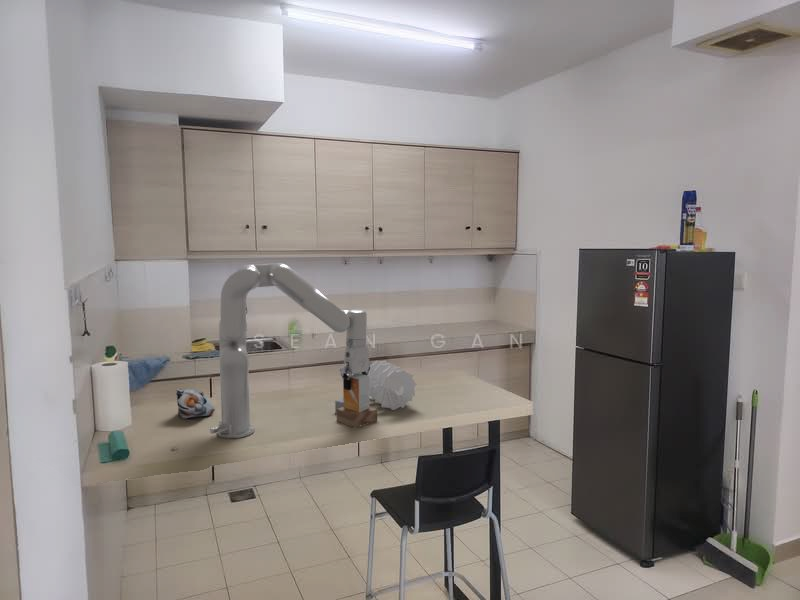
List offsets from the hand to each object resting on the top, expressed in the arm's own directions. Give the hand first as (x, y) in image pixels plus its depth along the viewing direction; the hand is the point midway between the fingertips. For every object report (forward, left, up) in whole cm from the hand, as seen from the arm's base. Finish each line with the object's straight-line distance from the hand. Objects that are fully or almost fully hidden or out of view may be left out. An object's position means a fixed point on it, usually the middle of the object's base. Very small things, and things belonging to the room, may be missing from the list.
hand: (355, 386), depth 207 cm
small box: (0, 0, -9) cm, 9 cm away
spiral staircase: (+23, +3, -13) cm, 27 cm away
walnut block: (0, -1, -14) cm, 14 cm away
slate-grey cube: (+4, +10, -13) cm, 17 cm away
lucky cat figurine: (-33, +53, -13) cm, 64 cm away
